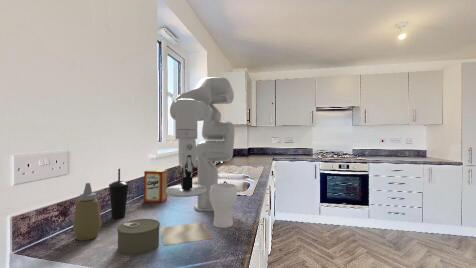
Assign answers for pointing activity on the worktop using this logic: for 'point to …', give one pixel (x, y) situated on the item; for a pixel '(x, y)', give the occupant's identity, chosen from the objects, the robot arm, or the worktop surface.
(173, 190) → the lid
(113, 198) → the drinking cup
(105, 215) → the worktop surface
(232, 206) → the cup
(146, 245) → the can
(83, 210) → the squeeze bottle
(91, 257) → the worktop surface
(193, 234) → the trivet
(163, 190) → the baking soda box
